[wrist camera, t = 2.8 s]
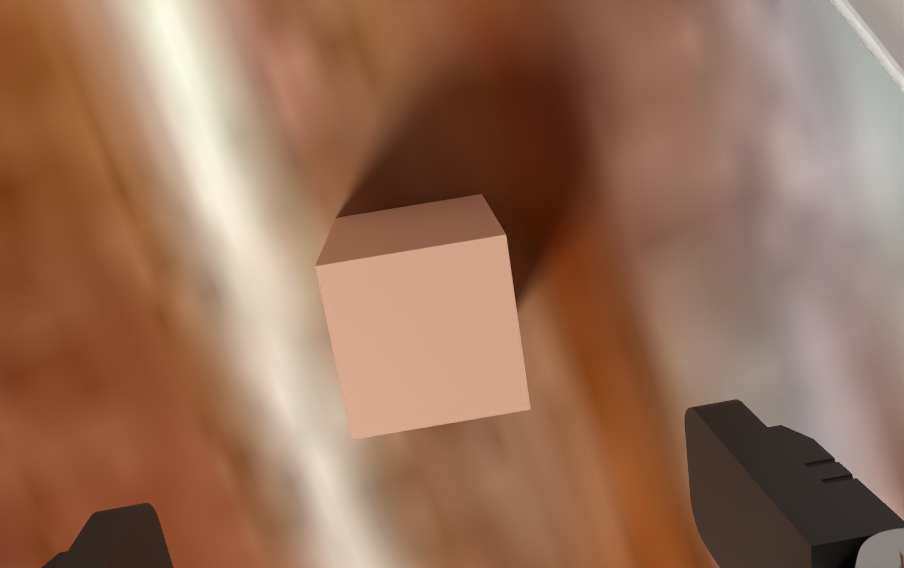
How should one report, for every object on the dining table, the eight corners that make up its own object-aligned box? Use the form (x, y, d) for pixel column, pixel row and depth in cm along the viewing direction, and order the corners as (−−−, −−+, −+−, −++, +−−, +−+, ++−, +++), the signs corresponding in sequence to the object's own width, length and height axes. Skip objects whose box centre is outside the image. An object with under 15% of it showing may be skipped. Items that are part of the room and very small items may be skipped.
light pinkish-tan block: (481, 193, 24) (506, 234, 18) (501, 330, 25) (530, 409, 20) (335, 217, 24) (315, 266, 18) (363, 354, 25) (351, 439, 20)
